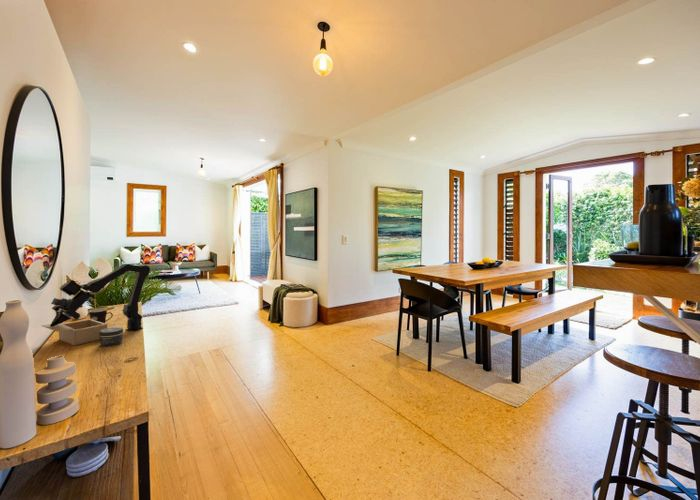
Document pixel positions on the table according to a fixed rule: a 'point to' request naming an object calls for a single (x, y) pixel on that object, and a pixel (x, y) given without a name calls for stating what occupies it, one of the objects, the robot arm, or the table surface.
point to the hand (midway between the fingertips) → (51, 326)
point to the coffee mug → (99, 315)
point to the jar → (111, 336)
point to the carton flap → (58, 327)
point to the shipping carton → (82, 332)
